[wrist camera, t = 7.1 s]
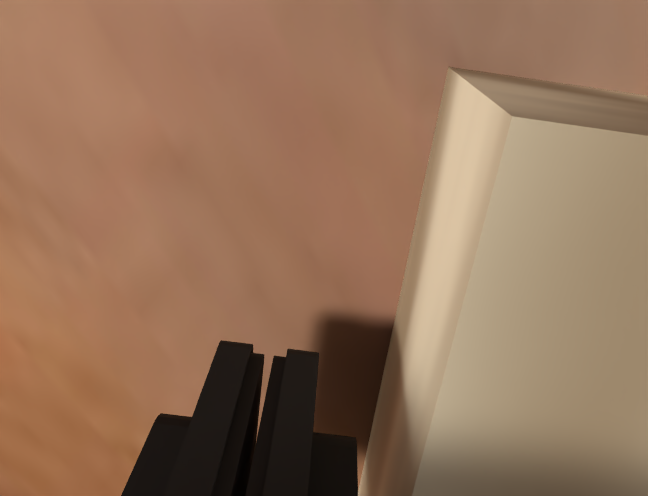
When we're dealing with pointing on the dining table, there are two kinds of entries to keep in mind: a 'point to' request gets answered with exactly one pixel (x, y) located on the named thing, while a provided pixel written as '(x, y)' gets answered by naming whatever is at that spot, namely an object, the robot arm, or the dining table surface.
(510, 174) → the t block
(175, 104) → the dining table surface
